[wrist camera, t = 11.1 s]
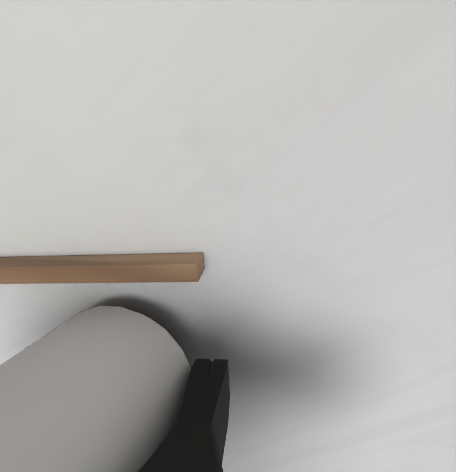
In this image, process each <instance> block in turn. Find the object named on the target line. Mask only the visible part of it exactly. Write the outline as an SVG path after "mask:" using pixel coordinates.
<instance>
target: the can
mask: <svg viewBox="0 0 456 472" xmlns="http://www.w3.org/2000/svg"><path fill="white" fill-rule="evenodd" d="M190 371H191V367H190V364H189V362H188V360H187V358H186V356H185V354H184V352H183V350H182V349H181V347H180V346H179V345H178V343H177V342H176V341H175V340H174V338H173V337H172V336H171V335H170V334H169V333H168V332H167V330H166V329H165V328H163V327H162V326H161V325H159V324H158V323H156V322H155V321H153V320H152V319H150V318H149V317H146V316H145V315H143V314H140V313H137V312H134V311H132V310H129V309H126V308H123V307H117V306H97V307H94V308H91V309H88V310H85V311H82V312H80V313H78V314H77V315H75V316H74V317H72V318H71V319H69V320H68V321H66V322H65V323H63V324H62V325H60V326H59V327H57V328H56V329H54V330H53V331H51V332H50V333H48V334H47V335H45V336H44V337H42V338H41V339H39V340H38V341H36V342H35V343H33V344H32V345H30V346H28V347H27V348H25V349H24V350H22V351H21V352H19V353H18V354H16V355H15V356H13V357H12V358H10V359H9V360H7V361H6V362H4V363H3V364H1V365H0V472H137V471H138V470H139V469H140V468H141V467H142V466H143V465H144V464H145V462H146V461H147V460H148V459H149V458H150V457H151V456H152V454H153V453H154V452H155V451H156V450H157V448H158V447H159V446H160V445H161V443H162V442H163V441H164V440H165V438H166V437H167V436H168V435H169V433H170V432H171V431H172V429H173V428H174V427H175V425H176V424H177V422H178V419H179V415H180V412H181V408H182V403H183V399H184V395H185V391H186V387H187V383H188V379H189V375H190Z"/></svg>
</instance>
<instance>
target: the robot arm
mask: <svg viewBox="0 0 456 472" xmlns="http://www.w3.org/2000/svg"><path fill="white" fill-rule="evenodd" d="M229 401H230V389H229V370H228V360H223V359H215V360H214V361H213V362H212V363H211V361H210V360H209V359H196V360H195V362H194V364H193V366H192V369H191V371H190V375H189V379H188V383H187V387H186V391H185V395H184V399H183V403H182V408H181V412H180V415H179V419H178V422H177V424H176V425H175V427H174V428H173V429H172V431H171V432H170V433H169V435H168V436H167V437H166V438H165V440H164V441H163V442H162V443H161V445H160V446H159V447H158V448H157V450H156V451H155V452H154V453H153V454H152V456H151V457H150V458H149V459H148V460H147V461H146V462H145V464H144V465H143V466H142V467H141V468H140V469H139V470H138V471H137V472H223V469H222V459H223V453H224V446H225V440H226V433H227V426H228V417H229Z"/></svg>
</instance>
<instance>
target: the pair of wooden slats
mask: <svg viewBox="0 0 456 472" xmlns="http://www.w3.org/2000/svg"><path fill="white" fill-rule="evenodd" d="M203 270H204V257H203V253H166V254H119V255H73V256H27V257H0V284H27V283H124V282H198V281H199V279H200V277H201V275H202V272H203Z"/></svg>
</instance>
